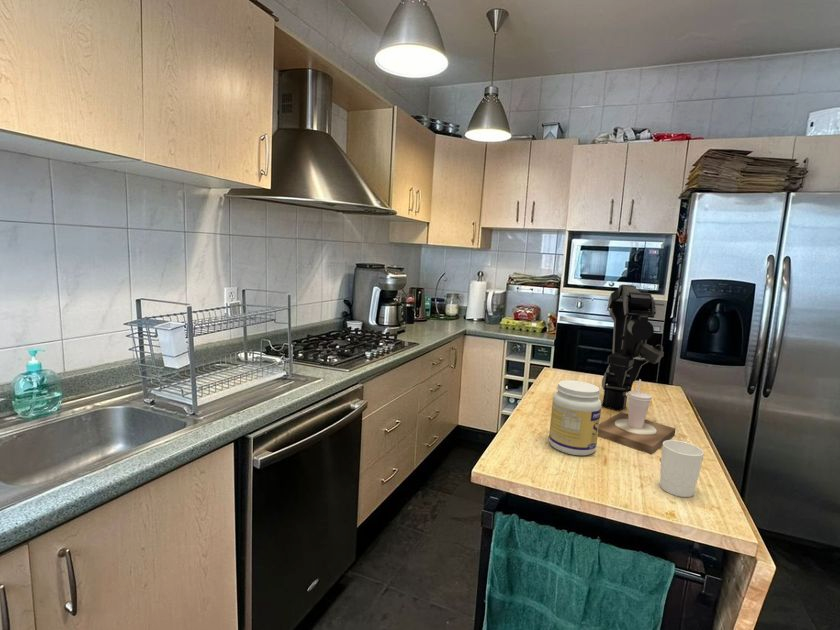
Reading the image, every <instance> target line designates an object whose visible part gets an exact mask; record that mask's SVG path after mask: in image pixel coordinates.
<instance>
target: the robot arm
mask: <svg viewBox="0 0 840 630" xmlns="http://www.w3.org/2000/svg"><path fill="white" fill-rule="evenodd" d="M607 303H608V304H607V307H608V309H609V316H610V318H611V319H612V321H613V330H612V331H613V333H612V334H613V335H612V351H611V352H612V353H611V354H609V355H607V363H608V366H607V368H606V371H605V372H604V374H603V377H602V379H601V388H602V389H603V390H604V391H603V398H602V402H601V406H602V407H604V408H606V409H609V410H614V411H617V412H621V411H622V410H624V409H626V408H627V402H628V396H627V394H628V392H629V391H632V387H633V384H634V382H636V379H637V377H638V376H639V374H640V371H641V369H642V366H644V365H645V364H647V363H651V364H653V365H655V364H657V363H658V364H659V363H660V362H661V359H662V358H663V357H664V356H665V355H664V354H665V352H664V346H663V345H660V344H656V345H654V346H653V345H652V344H651V345H650V344H648V343H647V342H648V340H649V339H650V338H651V337H652V336H653V335H654V332H655V329H654V325H653V324H652V323H651V322H650V321H649V318H651V319H654V318H655V316H656V313H657V309H656V302H655V300H654V297H653V295H652V293H650V292H641V291H640V290H639V289H638V288H637V286H636V285H634V284H631V285H630V284H620V285H619V286H618V288H617V289H616V290H614V291H613V292H611V293H610V296H609V298H608V302H607Z"/></svg>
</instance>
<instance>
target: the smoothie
mask: <svg viewBox="0 0 840 630" xmlns="http://www.w3.org/2000/svg"><path fill="white" fill-rule="evenodd" d="M641 383H642V379H640V378H639V379H638V386H637V390H631V391H629V392H628V393H627V394H626V396H627V402H628V405H627V407H628V408H627V409H628V413H627V414H628V425H629V426H630V427H632V428H636V429H642V427H643V424H644V421H645V420H646V416H647V413H648V410H649V407H650V403H651V401H652V400H653V396H652V394H649V393H648V392H645V391H644V392H643V391H640V390H641V386H642V385H641Z"/></svg>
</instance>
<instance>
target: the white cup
mask: <svg viewBox="0 0 840 630" xmlns="http://www.w3.org/2000/svg"><path fill="white" fill-rule="evenodd" d="M661 448H662V449H661V459H660V460H661V461H660V471H659V472H660V473H659V474H660V479H659V487H660V488H661V489H662V490H663V491H665V492H667V494H668V493H669V494H670V495H673V496H676V497H681V498H691V497H693V496H694V494H695V491H696V486H697V483H698V480H699V479H698V478H699V477H700V471H701V467H702V462H703V458H704V455H705V454H704V453H705V452H704V450H703V449H702V448H700V447H698V446H697V445H695V444H692V443H689V442H685V441H681V440H674V439H670V440H666V441H664V442H663V446H661Z"/></svg>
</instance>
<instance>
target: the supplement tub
mask: <svg viewBox="0 0 840 630" xmlns="http://www.w3.org/2000/svg"><path fill="white" fill-rule="evenodd" d="M556 390H557V391H556V392H555V393H554V394H553V397H552V404H551V414H550V423H549V425H550V426H549V433H548V434H549V435H548V441H549V443H550V445H551V446H552V447H553V448H555V449H556V450H558V451H559V452H562V453H564V454H569V455H573V456H588V455H591V454H593V453H594V452H595V451H596V449H597V445H598V444H597V443H598V438H599V436H598V429H599V424H600V418H601V411H602V407H603V406H601V404H602V401H601V399H600V398H599V397H600V395H601V394H600V388H599V386H597V385H595V384H592V383H589V382H585V381H580V380H571V379H568V380H560V381H559V382H558V384H557V387H556Z"/></svg>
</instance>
